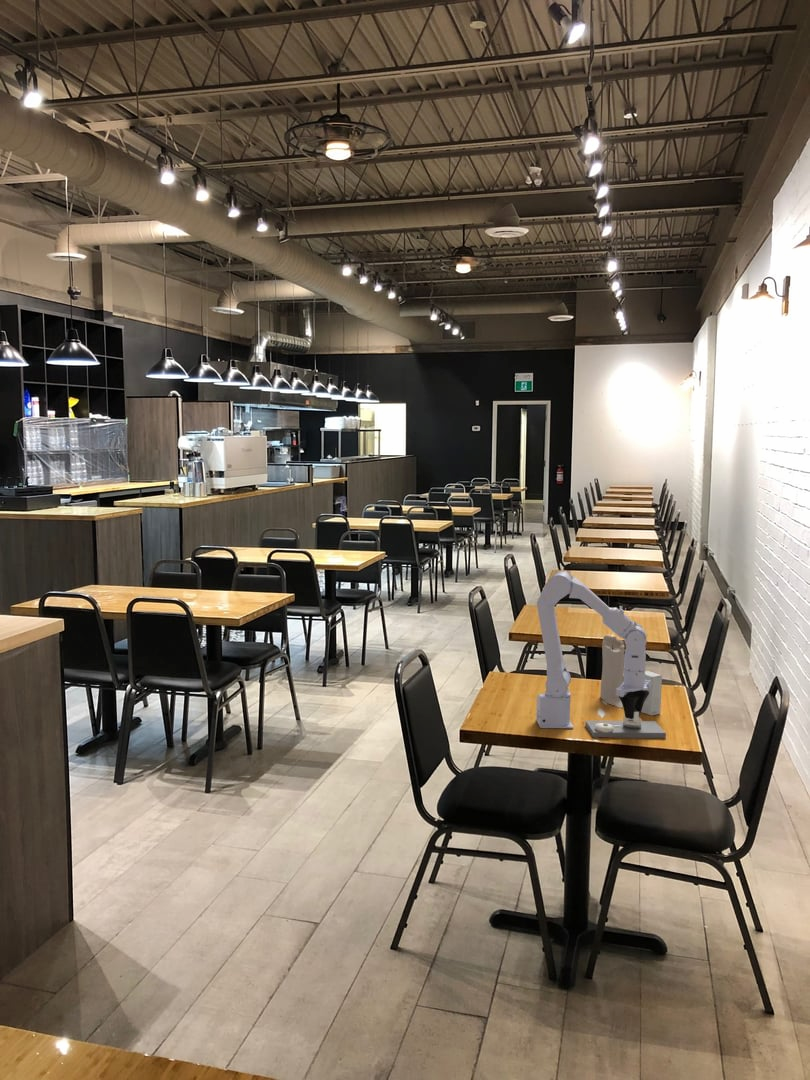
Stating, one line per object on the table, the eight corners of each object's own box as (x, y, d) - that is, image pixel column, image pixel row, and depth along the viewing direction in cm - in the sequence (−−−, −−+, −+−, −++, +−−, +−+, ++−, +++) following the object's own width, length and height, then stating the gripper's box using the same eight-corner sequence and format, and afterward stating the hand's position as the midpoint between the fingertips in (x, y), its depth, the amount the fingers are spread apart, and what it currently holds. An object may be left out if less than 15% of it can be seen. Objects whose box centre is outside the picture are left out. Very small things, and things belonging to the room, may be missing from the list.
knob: (644, 729, 236) (645, 709, 235) (627, 729, 235) (627, 709, 235) (637, 722, 242) (637, 703, 241) (619, 722, 241) (620, 703, 240)
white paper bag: (613, 708, 260) (616, 644, 258) (596, 695, 274) (599, 634, 271) (636, 707, 261) (638, 643, 259) (618, 694, 275) (620, 633, 273)
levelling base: (593, 737, 233) (593, 726, 233) (585, 725, 243) (585, 714, 243) (665, 738, 234) (666, 726, 233) (654, 726, 244) (655, 715, 243)
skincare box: (661, 714, 255) (662, 675, 254) (650, 716, 253) (652, 677, 252) (646, 708, 260) (647, 670, 259) (635, 710, 258) (637, 672, 257)
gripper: (632, 676, 229) (630, 725, 230) (661, 667, 238) (659, 714, 240) (610, 671, 234) (608, 719, 235) (639, 662, 244) (637, 708, 245)
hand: (632, 716), depth 238 cm, fingers closed on knob, 3 cm apart
